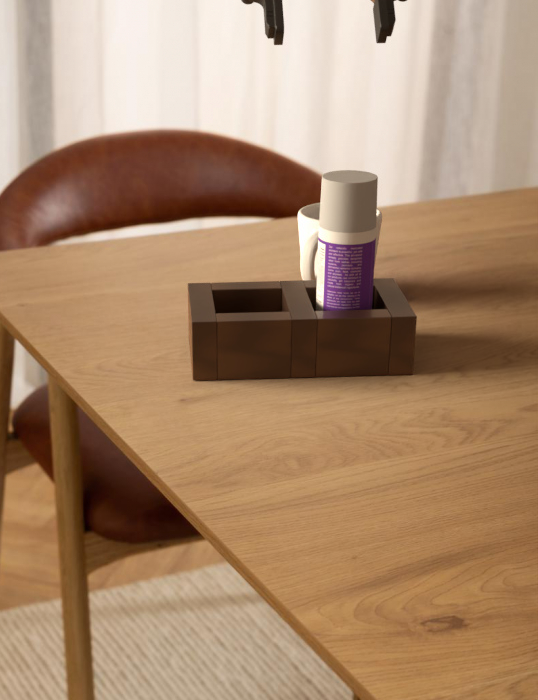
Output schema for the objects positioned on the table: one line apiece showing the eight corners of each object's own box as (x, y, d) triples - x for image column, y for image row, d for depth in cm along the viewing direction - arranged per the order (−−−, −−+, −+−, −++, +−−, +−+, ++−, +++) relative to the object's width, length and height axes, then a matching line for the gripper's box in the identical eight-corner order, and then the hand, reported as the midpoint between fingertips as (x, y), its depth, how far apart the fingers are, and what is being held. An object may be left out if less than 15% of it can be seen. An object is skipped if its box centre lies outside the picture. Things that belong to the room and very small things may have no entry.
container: (380, 353, 101) (391, 176, 94) (345, 367, 98) (353, 186, 91) (338, 339, 104) (346, 167, 97) (303, 353, 101) (308, 176, 94)
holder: (390, 332, 106) (393, 277, 103) (412, 374, 97) (417, 316, 94) (188, 337, 105) (187, 283, 102) (192, 380, 96) (191, 322, 94)
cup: (342, 320, 108) (346, 234, 105) (266, 306, 112) (267, 222, 108) (391, 288, 116) (396, 207, 113) (318, 275, 120) (321, 197, 116)
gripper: (236, -155, 98) (246, 8, 93) (407, -157, 98) (426, 4, 93) (233, -85, 105) (242, 69, 100) (392, -88, 106) (409, 65, 101)
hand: (331, 37), depth 97 cm, fingers open, 8 cm apart
